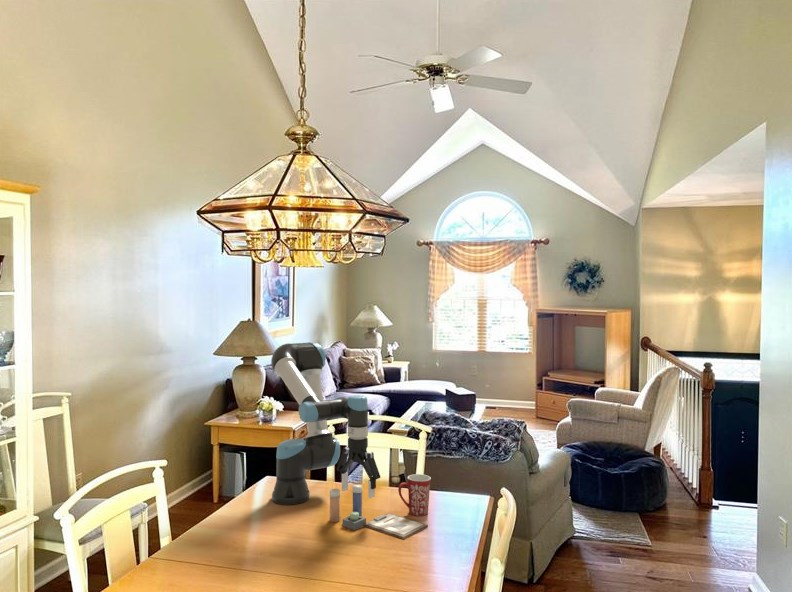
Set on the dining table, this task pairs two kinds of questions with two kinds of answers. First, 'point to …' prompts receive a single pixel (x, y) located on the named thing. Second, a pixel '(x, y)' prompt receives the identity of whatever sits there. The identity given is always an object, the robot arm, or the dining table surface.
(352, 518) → the button
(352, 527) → the button housing
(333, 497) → the pale pink bottle
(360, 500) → the blue bottle
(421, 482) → the mug
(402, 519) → the clipboard
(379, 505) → the dining table surface
